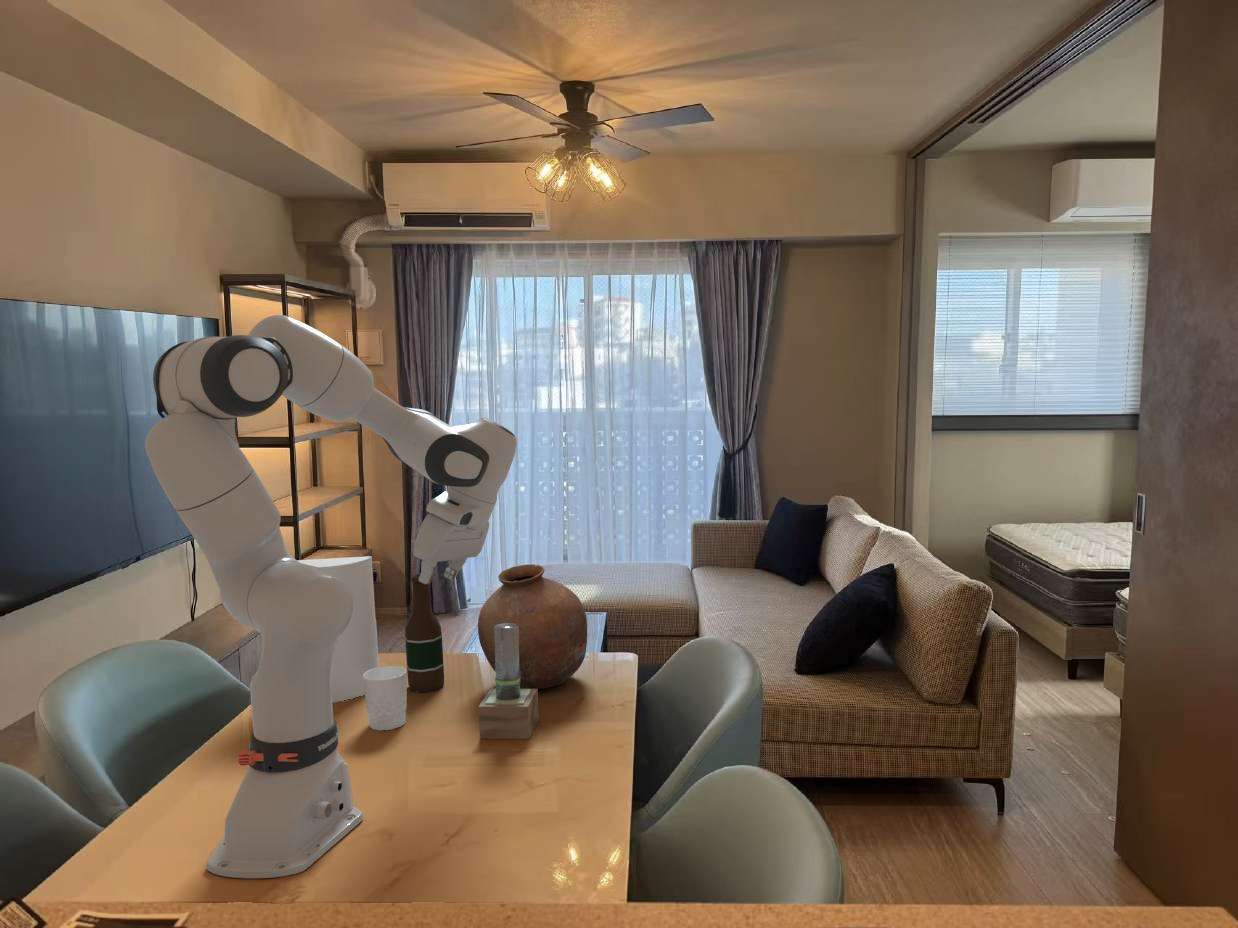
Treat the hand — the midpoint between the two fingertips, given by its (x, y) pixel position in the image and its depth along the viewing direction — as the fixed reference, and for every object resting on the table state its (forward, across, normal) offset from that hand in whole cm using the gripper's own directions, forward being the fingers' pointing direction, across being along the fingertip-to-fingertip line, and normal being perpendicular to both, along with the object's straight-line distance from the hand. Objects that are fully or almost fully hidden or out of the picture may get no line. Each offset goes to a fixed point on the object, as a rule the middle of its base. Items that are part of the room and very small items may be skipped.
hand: (436, 580), depth 155 cm
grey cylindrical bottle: (+16, -9, +18) cm, 25 cm away
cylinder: (+38, -24, -22) cm, 50 cm away
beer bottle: (+30, -28, -5) cm, 41 cm away
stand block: (+22, -10, +20) cm, 31 cm away
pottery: (+20, -34, +15) cm, 42 cm away
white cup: (+32, -8, -2) cm, 33 cm away
